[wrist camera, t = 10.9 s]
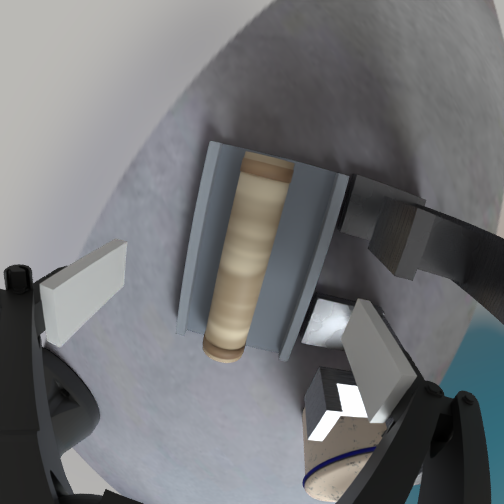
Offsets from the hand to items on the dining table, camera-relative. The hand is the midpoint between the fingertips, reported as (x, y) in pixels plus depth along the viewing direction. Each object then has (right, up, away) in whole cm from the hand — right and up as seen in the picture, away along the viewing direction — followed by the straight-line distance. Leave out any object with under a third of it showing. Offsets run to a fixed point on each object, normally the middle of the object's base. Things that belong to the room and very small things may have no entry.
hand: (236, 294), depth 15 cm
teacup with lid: (+11, -12, +9) cm, 19 cm away
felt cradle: (+1, +2, +6) cm, 6 cm away
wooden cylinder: (+1, +2, +5) cm, 5 cm away
